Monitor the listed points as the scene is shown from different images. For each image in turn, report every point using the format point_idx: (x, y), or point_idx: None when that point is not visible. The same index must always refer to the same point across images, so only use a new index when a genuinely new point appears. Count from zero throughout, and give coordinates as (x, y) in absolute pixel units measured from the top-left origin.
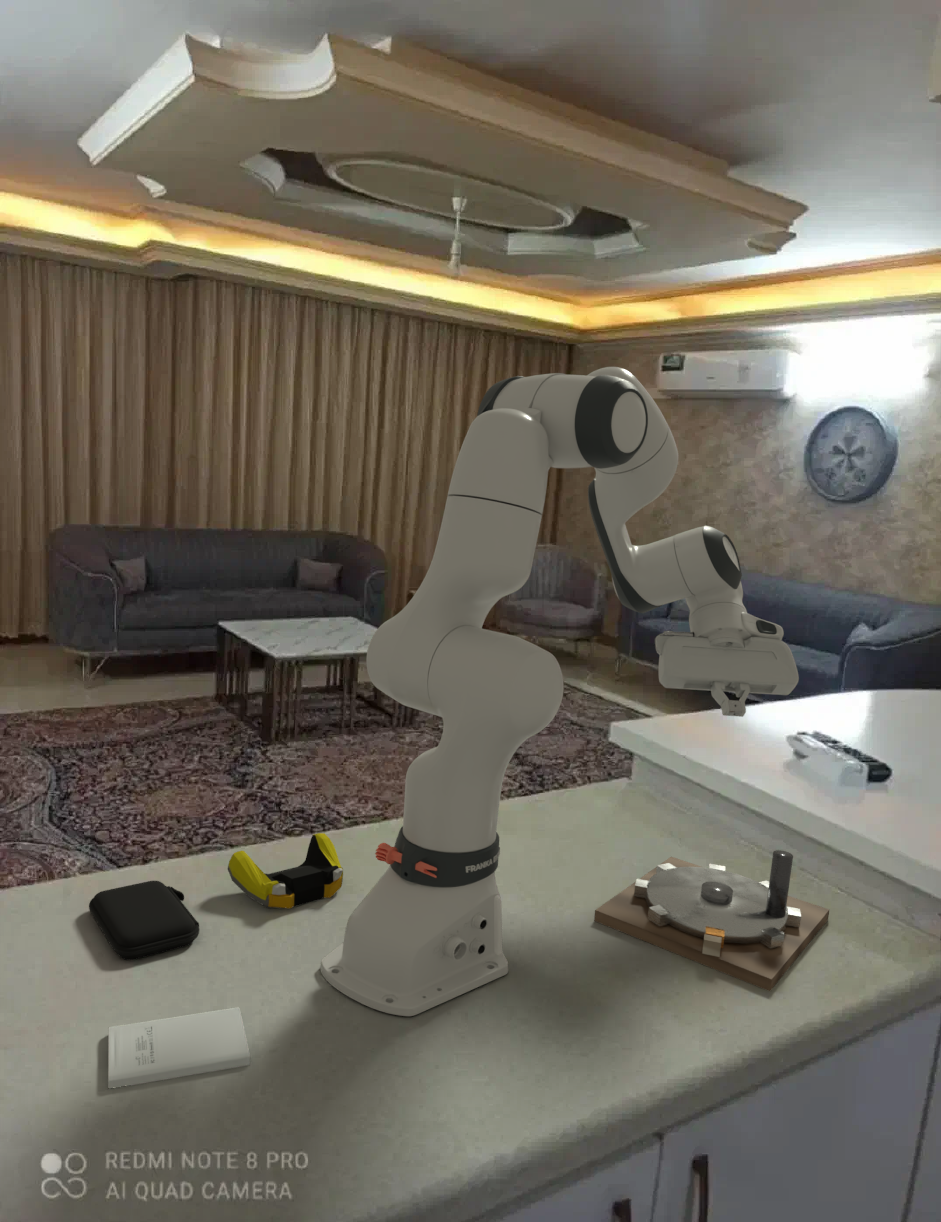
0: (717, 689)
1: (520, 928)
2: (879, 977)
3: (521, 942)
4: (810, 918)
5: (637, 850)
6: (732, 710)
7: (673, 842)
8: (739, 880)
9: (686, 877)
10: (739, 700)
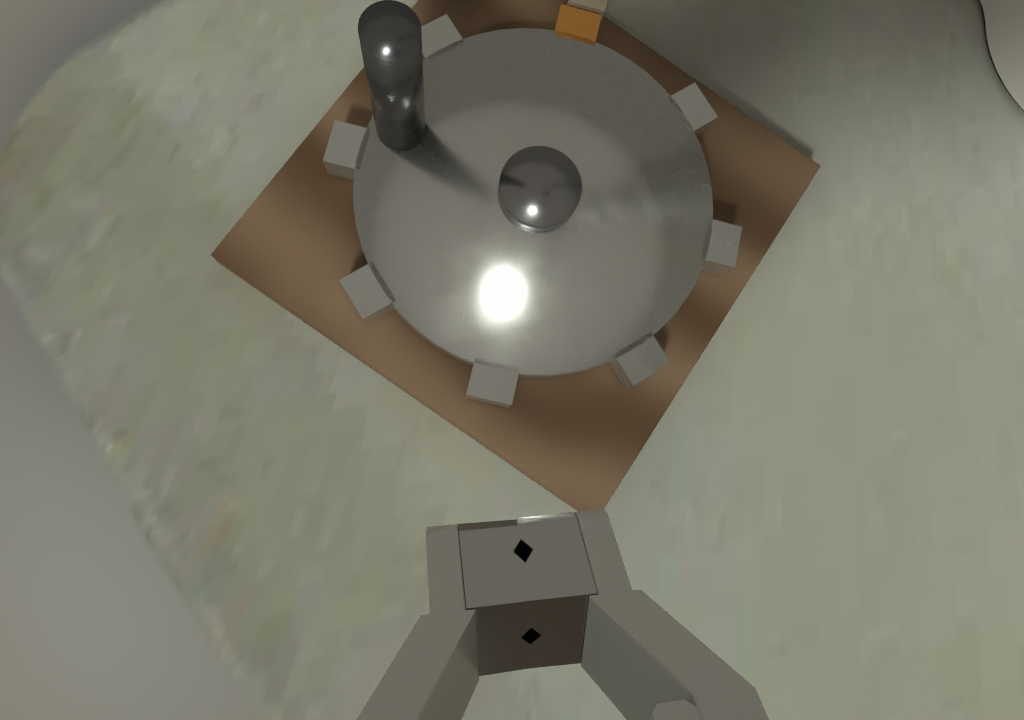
0: (735, 680)
1: (956, 126)
2: (206, 18)
3: (949, 73)
4: (287, 196)
5: (672, 614)
6: (546, 518)
7: (550, 710)
8: (447, 304)
9: (597, 298)
10: (458, 688)
